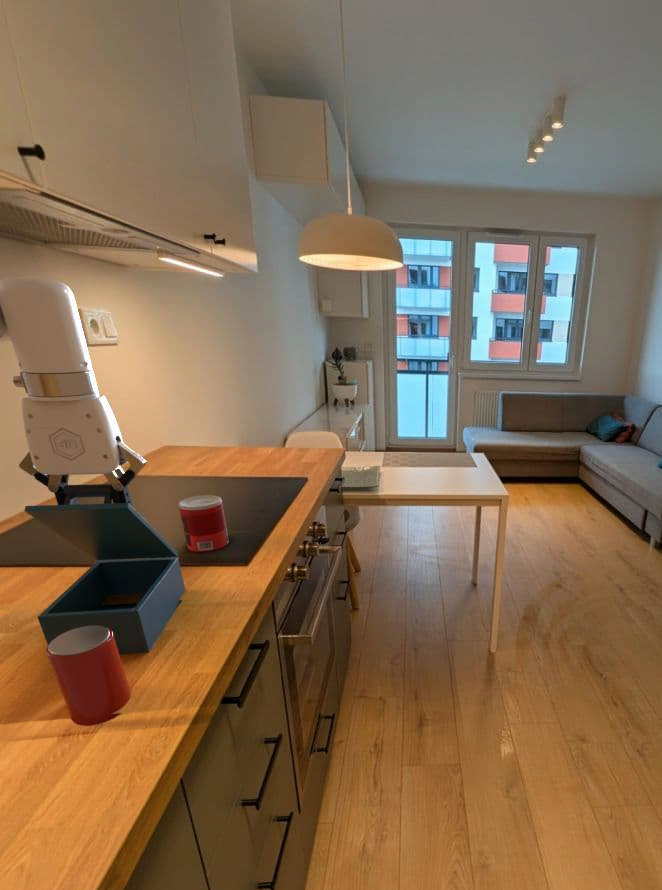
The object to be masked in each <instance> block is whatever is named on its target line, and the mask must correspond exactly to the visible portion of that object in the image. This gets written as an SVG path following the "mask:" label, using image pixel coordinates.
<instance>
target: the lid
mask: <svg viewBox="0 0 662 890" xmlns="http://www.w3.org/2000/svg"><path fill="white" fill-rule="evenodd" d="M113 490H114V489H113V486H112V485H111V484H110V483H94V484H93V483H89V484H87V483H85V484H68V485H65V486H64V488H63V492H64V495H65V497H66V498H65V503H64V505H58V504H48V505H47V504H46V505H44V504H43V505H25V506H24V512H25V513H27V515H29V516H31V517H32V518H33V519H35V520H37V521H38V522H39V523H41V524H43V526H45V527H47V528H48V529H50V530H51V531H53V532H54V533H55V534H57V535H59V536H60V537H61V538H62V539H64V540H66V541H67V542H68V543H70V544H72V545H73V546H74V547H76V548H77V549H78V550H80V551H82V552H83V553H85V554H86V555H88V556H89V557H91V558H92V559H94V560H95V561H107V560H129V559H152V558H176V557H178V556H179V555H178V554H179V552H178V551H177V550H176V549H175V548H174V547H173V546H172V545H171V544H170V543H169V542H168V541H167V540H166V539H165V538H164V537H163V536H162V535H161V534H160V533H159V532H158V531H157V530H156V529H155V528H154V527H153V526H152V525H151V524H150V523H149V522H148V521H147V520H146V519H145V518H144V517H143V516H142V515H141V514H140V513H139V512H138V511H137V510H136V509H135V508H134V507H133V505H132V506H131V505H130V504H129V503H113V500H112V496H111V492H112V491H113ZM73 498H77V499H79V498H104V499H103V503H82V504H80V503H78V504H77V505H72V504H73Z"/></svg>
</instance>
